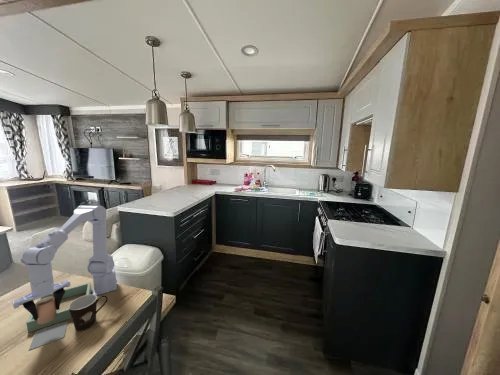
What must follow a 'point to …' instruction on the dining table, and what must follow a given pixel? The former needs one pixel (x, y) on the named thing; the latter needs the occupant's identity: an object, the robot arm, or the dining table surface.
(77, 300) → the coffee mug
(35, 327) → the green square frame
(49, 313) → the pink plant pot
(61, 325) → the slate mat
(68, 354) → the dining table surface
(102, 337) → the dining table surface
